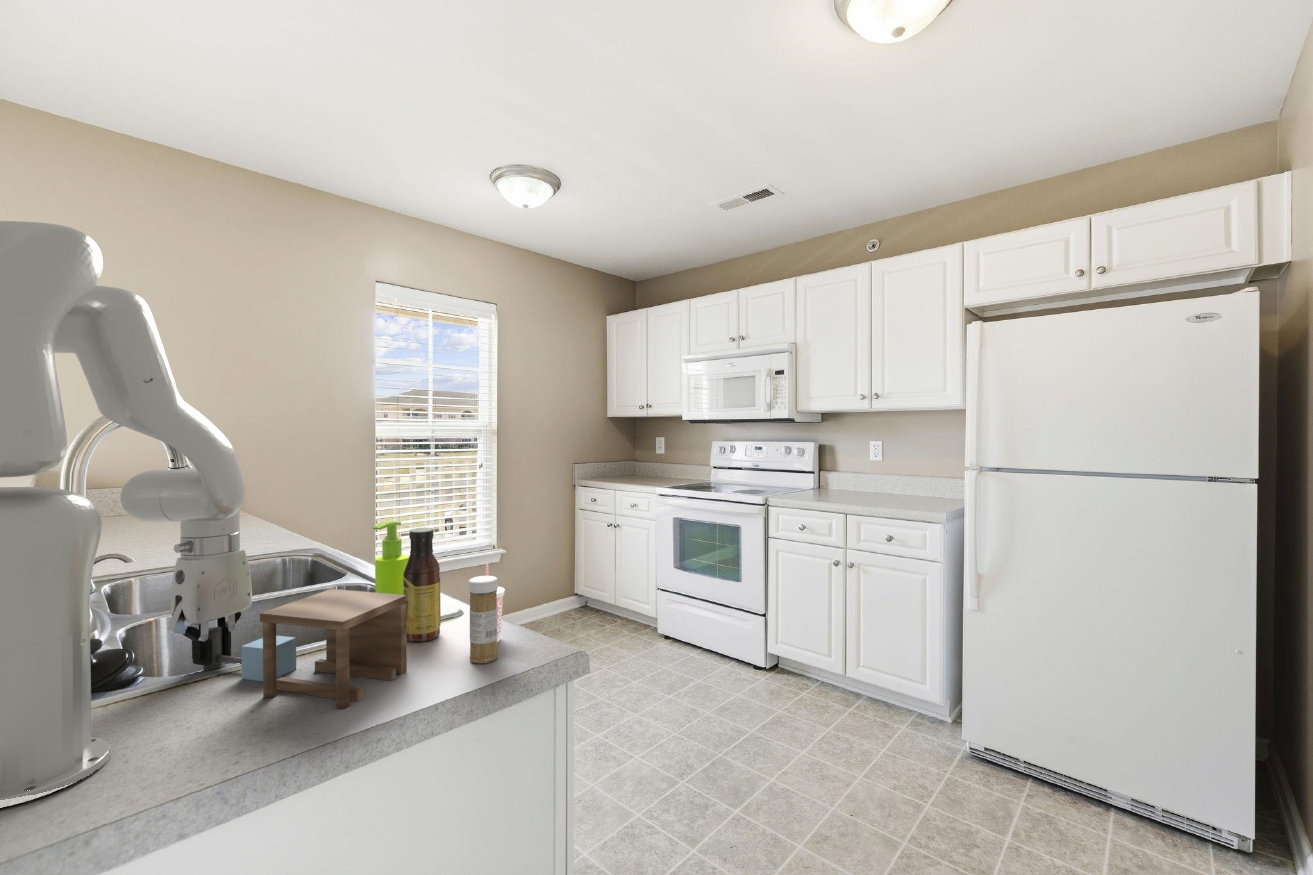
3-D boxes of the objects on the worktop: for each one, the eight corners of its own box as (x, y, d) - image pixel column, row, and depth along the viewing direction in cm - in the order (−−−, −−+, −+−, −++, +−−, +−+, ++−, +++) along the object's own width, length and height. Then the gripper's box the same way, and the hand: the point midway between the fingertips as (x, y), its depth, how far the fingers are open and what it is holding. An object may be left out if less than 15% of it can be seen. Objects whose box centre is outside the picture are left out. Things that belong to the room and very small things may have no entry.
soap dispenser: (363, 629, 112) (363, 523, 111) (392, 618, 118) (392, 518, 118) (387, 633, 109) (387, 526, 109) (415, 622, 116) (415, 520, 116)
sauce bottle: (409, 632, 110) (409, 526, 110) (444, 630, 111) (444, 525, 111) (398, 645, 104) (398, 532, 103) (435, 643, 104) (434, 531, 104)
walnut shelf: (343, 709, 80) (342, 621, 80) (260, 697, 83) (259, 613, 83) (406, 671, 93) (406, 595, 92) (332, 662, 96) (331, 588, 96)
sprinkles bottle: (490, 651, 101) (490, 573, 101) (502, 660, 97) (502, 578, 97) (464, 658, 98) (464, 577, 98) (475, 667, 94) (475, 583, 94)
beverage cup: (489, 648, 102) (489, 568, 102) (461, 643, 105) (461, 564, 104) (511, 637, 108) (511, 560, 108) (484, 632, 110) (484, 557, 110)
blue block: (268, 682, 88) (268, 642, 88) (191, 672, 92) (190, 634, 92) (296, 668, 93) (296, 631, 93) (221, 660, 97) (221, 623, 97)
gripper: (176, 557, 85) (177, 684, 85) (274, 537, 100) (275, 644, 101) (137, 554, 87) (138, 678, 87) (239, 534, 102) (240, 640, 103)
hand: (212, 659), depth 94 cm, fingers closed on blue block, 2 cm apart
